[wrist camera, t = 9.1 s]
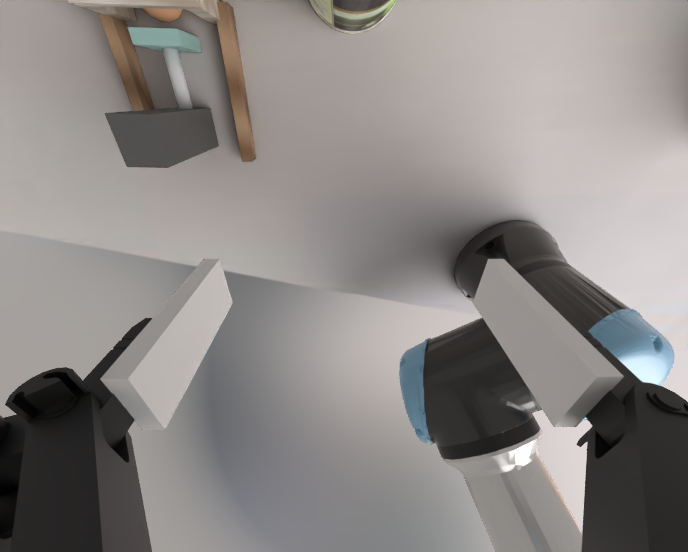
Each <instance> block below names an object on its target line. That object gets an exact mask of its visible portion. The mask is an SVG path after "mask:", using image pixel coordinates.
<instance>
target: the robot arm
mask: <svg viewBox="0 0 688 552" xmlns="http://www.w3.org/2000/svg"><path fill="white" fill-rule="evenodd" d="M455 280H456V283H457V285H458V286H459V288H460V290H461V291H462V293H463V294H464V295H465V296H466V297H467V298H468V299H469V300H470V301H472V302H473V304H474V305H475V307H476V308H477V310H478V311H479V313H480V314H481V316H482V317H483V318H480V319H477V320H475V321H473V322H470V323H468V324H466V325H464V326H461V327H459V328H457V329H455V330H452V331H450V332H447V333H445V334H443V335H440V336H438V337H435V338H433V339H430V338H428V339H426V340H425V341H424V342H423V343H421V344H419V345H417V346H415V347H413V348H411V349H409V350H407V351H406V352H405V353H404V354H403V356H402V358H401V362H400V371H399V375H400V385H401V390H402V396H403V400H404V404H405V408H406V411H407V414H408V417H409V420H410V422H411V424H412V426H413V428H415V431H416V434H417V436H418V437H419V439H420V440H421V441H423V442H424V443H429V444H434V443H436V445H437V447H438V449H439V452H440V454H441V457H442V458H443V461H445V462H446V463H448V464H449V465H451V466H452V467H454V468H456V469H457V470H459V471H460V472H461V473H462V474H463V476H464V479H465V481H466V483H467V486H468V488H469V491H470V493H471V495H472V498H473V500H474V502H475V505H476V507H477V509H478V512H479V514H480V516H481V518H482V521H483V523H484V526H485V528H486V531H487V533H488V535H489V538H490V540H491V542H492V545H493V547H494V549H495V552H688V402H687V401H686V400H684V399H683V398H681V397H680V396H679V395H677V394H676V393H674V392H672V391H670V390H668V389H666V388H664V387H662V386H660V385H661V383H663V381H664V380H665V379H666V378H667V376H668V375H669V373H670V371H671V369H672V366H673V363H674V351H673V348H672V346H671V344H670V343H669V341H668V340H667V339H666V338H665V337H664V336H663V335H662V334H661V333H659V332H658V331H657V330H656V329H655V328H653V327H652V326H651V325H650V324H649V323H648V322H646V321H645V320H644V319H643V318H642V316H641V315H640V314H639V313H638V312H637V311H635V310H633V309H630V308H628V307H627V306H626V305H624V304H623V303H622V302H620V301H619V300H617V299H616V298H615V297H613V296H612V295H610V294H609V293H608V292H606V291H605V290H603V289H602V288H601V287H599V286H598V285H596V284H595V283H594V282H592V281H591V280H590V279H588V278H587V277H585V276H584V275H583V274H581V273H580V272H578V271H577V270H576V269H574V268H573V267H572V266H570V265H569V264H568V263H567V261H566V260H565V258H564V256H563V255H562V253H561V251H560V250H559V247H558V245H557V242H556V241H555V239H554V238H553V237H552V236H551V235H550V234H549V233H548V232H547V231H545V230H544V229H542V228H541V227H539V226H537V225H536V224H533V223H530V222H526V221H510V222H505V223H501V224H498V225H495V226H493V227H491V228H488V229H487V230H485V231H483V232H481V233H480V234H479V235H477V236H476V237H475V238H473V239H472V240H471V241H470V242H469V243H468V244H467V245H466V247H465V248H464V249H463V250H462V252H461V254H460V255H459V257H458V259H457V262H456V266H455ZM232 303H233V302H232V299H231V296H230V292H229V289H228V285H227V282H226V279H225V275H224V272H223V268H222V265H221V262H220V259H203V260H202V262H201V263H200V264H199V265H198V266H197V267H196V269H195V270H194V271H193V272H192V273H191V274H190V276H189V277H188V278H187V279H186V280H185V281H184V282H183V284H182V285H181V286H180V287H179V288H178V289H177V291H176V292H175V293H174V294H173V295H172V296H171V298H170V299H169V300H168V301H167V302H166V303H165V305H164V306H163V307H162V308H161V309H160V310H159V311H158V313H157V314H156V315H155V316H154V317H153V318H145V319H144V320H142V321H141V322H139V323H138V324H136V325H135V326H133V327H132V328H131V329H130V330H129V331H128V332H127V333H126V334H125V336H124V337H123V338H122V340H121V341H119V342H118V343H117V344H116V345H115V346H114V349H113V350H111V351H110V352H109V353H108V354H107V355H106V356H105V357H104V358H103V359H102V361H101V362H100V363H99V364H98V365H97V366H96V367H95V368H94V369H93V370H92V372H91V373H90V374H89V375H88V376H87V377H86V378H85V379H84V380H83V381H82V379H81V378H80V377H79V376H78V375H77V374H76V373H75V372H74V370H73V369H69V368H66V367H65V368H56V369H52V370H49V371H46V372H43V373H41V374H39V375H37V376H35V377H33V378H31V379H29V380H28V381H26V382H25V383H23V384H22V385H21V386H19V387H18V388H17V389H16V390H15V391H14V392H13V393H12V394H11V395H10V396H9V398H8V400H7V402H6V404H5V405H6V406H8V407H9V408H10V409H11V410H13V411H14V412H15V413H16V414H17V415H13V416H9V417H6V418H3V417H1V416H0V552H152V550H151V544H150V538H149V533H148V528H147V522H146V516H145V511H144V506H143V500H142V494H141V489H140V483H139V479H138V472H137V467H136V462H135V456H134V451H133V445H132V440H131V436H130V435H129V433H128V429H129V428H130V426H131V425H132V423H133V422H134V421H135V422H136V423H137V425H138V426H139V427H140V428H141V429H142V430H165V429H166V427H167V425H168V423H169V421H170V419H171V417H172V416H173V413H174V411H175V410H176V408H177V406H178V404H179V402H180V400H181V399H182V396H183V395H184V393H185V391H186V389H187V387H188V386H189V384H190V382H191V380H192V378H193V376H194V374H195V372H196V371H197V369H198V367H199V365H200V363H201V361H202V359H203V357H204V356H205V354H206V352H207V350H208V348H209V346H210V344H211V343H212V340H213V339H214V337H215V335H216V333H217V331H218V329H219V328H220V325H221V324H222V322H223V320H224V318H225V316H226V314H227V313H228V311H229V309H230V307H231V305H232ZM539 410H543V411H544V413H545V414H546V416H547V417H548V419H549V420H550V422H551V424H552V425H553V427H576V426H577V425H578V424H579V423H580V422H581V421H583V420H588V421H589V422H590V423H591V424H592V426H593V427H592V428H591V429H590V430H589V431H588V432H587V433H585V434H584V435H583V436H582V437H581V438H580V440H579V441H578V443H577V445H578V446H580V447H581V446H582V445H583V444H584V443H585V442H588V445H587V464H586V481H585V498H584V517H583V533H582V531H581V530H580V528H579V526H578V524H577V522H576V520H575V519H574V517H573V515H572V513H571V511H570V510H569V508H568V506H567V504H566V503H565V501H564V499H563V498H562V495H561V494H560V492H559V490H558V488H557V486H556V485H555V483H554V481H553V479H552V477H551V476H550V474H549V472H548V471H547V468H546V467H545V465H544V463H543V461H542V459H541V458H540V456H539V454H538V445H539V442H540V438H541V435H542V430H541V428H540V427H539V425H538V423H537V421H536V420H535V418H534V416H533V414H532V413H533V412H536V411H539Z"/></svg>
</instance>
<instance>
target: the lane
mask: <svg viewBox="0 0 688 552" xmlns="http://www.w3.org/2000/svg"><path fill="white" fill-rule="evenodd" d="M68 2H69V3H71V4H74V5H77V6H80V7H83V8H86V9H89V10H92V11H95V12H98V14H99V17H100V20H101V23H102V25H103V28H104V31H105V34H106V36H107V39H108V42H109V45H110V47H111V50H112V53H113V56H114V58H115V61H116V64H117V67H118V69H119V72H120V75H121V78H122V80H123V83H124V86H125V89H126V91H127V94H128V97H129V100H130V103H131V105H132V108H133V111H141V110H153V109H154V106H153V103H152V100H151V97H150V94H149V91H148V88H147V85H146V82H145V79H144V76H143V72H142V69H141V66H140V63H139V60H138V57H137V54H136V51H135V48H134V45H133V43H132V40H131V36H130V33H129V30H128V26H127V23H126V21H137V18H136V15H135V12H134V9H133V8H152V9H180V10H188V11H190V12H192V13H194V14H195V15H197V16H199V17H201V18H202V19H204V20H206V21H208V22H210V23H211V24H217V27H218V32H219V38H220V43H221V49H222V54H223V60H224V65H225V70H226V76H227V81H228V87H229V92H230V98H231V103H232V109H233V114H234V120H235V125H236V131H237V136H238V142H239V147H240V153H241V158H242V162H252V161H254V160H255V159H256V155H255V148H254V142H253V135H252V129H251V122H250V116H249V109H248V103H247V96H246V90H245V83H244V77H243V70H242V64H241V57H240V51H239V44H238V38H237V31H236V25H235V18H234V12H233V7H231V6H230V5H229V4H228V3H227V2H226V0H68Z"/></svg>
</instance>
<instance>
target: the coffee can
mask: <svg viewBox="0 0 688 552" xmlns="http://www.w3.org/2000/svg"><path fill="white" fill-rule="evenodd" d="M309 1H310V3H311V5H312V7H313V8H314V10H315V11H316V13H317V14H318V15H319V16H320V18H321V19H322V20H323V21H324V22H325V23H327V24H328V25H329V26H330V27H332V28H333V29H335V30H338V31H340V32H343V33H349V34H356V33H362V32H365V31H368V30H370V29H372V28H374V27H375V26H377V25H378V24H379V23H380V22H381V21H383V20H384V18H385V17H386V16H387V15H388V14H389V12H390V11H391V10H392V8H393V7H394V5H395V3H396V1H397V0H309Z"/></svg>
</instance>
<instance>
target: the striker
mask: <svg viewBox="0 0 688 552" xmlns="http://www.w3.org/2000/svg"><path fill="white" fill-rule="evenodd" d="M128 30H129V33H130V36H131V40H132V43H133V45H136V46H140V47H145V48H149V49H153V50H157V51H163V54H164V58H165V61H166V65H167V68H168V72H169V75H170V79H171V83H172V86H173V90H174V93H175V97H176V100H177V104H178V108H166V109H153V110H141V111H128V112H116V113H105V116H106V118H107V120H108V123H109V125H110V127H111V130H112V132H113V135H114V137H115V139H116V142H117V144H118V147H119V149H120V151H121V154H122V156H123V159H124V161H125V163H126V166H127V167H156V168H168V167H171V166H173V165H175V164H178V163H180V162H182V161H185V160H187V159H189V158H192V157H194V156H196V155H199V154H201V153H203V152H206V151H208V150H210V149H213V148H215V147H217V146H218V141H217V137H216V132H215V128H214V123H213V119H212V114H211V110H210V108H193V106H192V102H191V98H190V95H189V91H188V87H187V83H186V79H185V75H184V71H183V67H182V63H181V59H180V55H179V52H200V53H202V50H201V45H200V41H199V37H196V36H194V35H192V34H189V33H187V32H184V31H182V30H179V29H171V28H142V27H128Z"/></svg>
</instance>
